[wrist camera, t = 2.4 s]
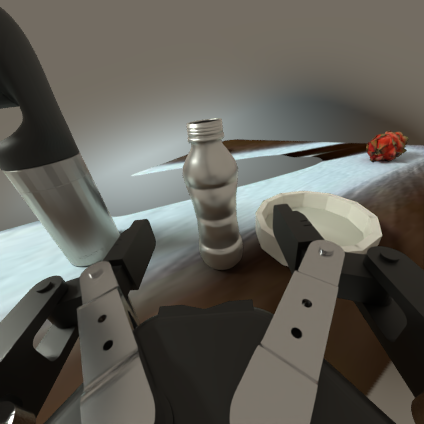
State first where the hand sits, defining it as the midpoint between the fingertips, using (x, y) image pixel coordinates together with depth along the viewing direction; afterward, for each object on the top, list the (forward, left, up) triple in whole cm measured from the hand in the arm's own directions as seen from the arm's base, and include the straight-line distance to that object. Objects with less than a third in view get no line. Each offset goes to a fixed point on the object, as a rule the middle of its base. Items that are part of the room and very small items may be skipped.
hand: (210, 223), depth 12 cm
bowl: (-6, +21, -15) cm, 26 cm away
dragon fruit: (-15, +66, -15) cm, 69 cm away
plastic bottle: (-10, +6, -15) cm, 19 cm away
